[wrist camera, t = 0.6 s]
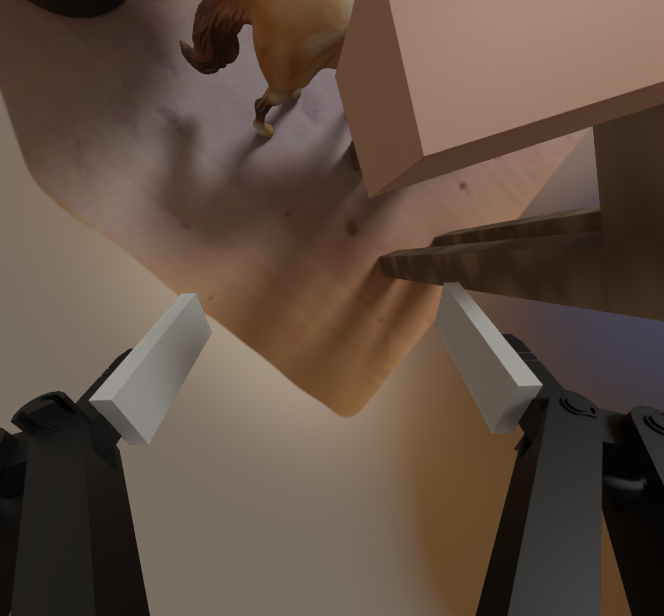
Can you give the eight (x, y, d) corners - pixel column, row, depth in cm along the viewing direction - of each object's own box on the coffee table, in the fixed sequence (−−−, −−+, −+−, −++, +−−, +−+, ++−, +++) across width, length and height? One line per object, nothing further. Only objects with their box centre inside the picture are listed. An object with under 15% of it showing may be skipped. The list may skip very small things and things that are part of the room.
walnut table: (348, 147, 35) (649, -412, 6) (429, 123, 36) (1015, -445, 7) (384, 276, 39) (673, 322, 10) (457, 250, 40) (906, 223, 11)
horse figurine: (441, 66, 35) (642, -196, 15) (445, 130, 37) (634, -33, 17) (198, 80, 31) (34, -257, 11) (213, 151, 32) (92, -32, 12)
